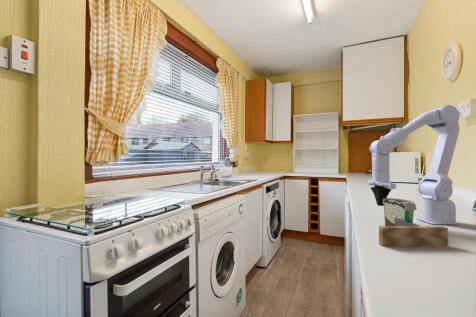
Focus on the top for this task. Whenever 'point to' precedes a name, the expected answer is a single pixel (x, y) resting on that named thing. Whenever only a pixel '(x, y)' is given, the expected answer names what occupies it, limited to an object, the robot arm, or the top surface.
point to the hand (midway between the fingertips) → (380, 205)
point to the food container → (398, 210)
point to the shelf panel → (413, 236)
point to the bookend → (403, 223)
